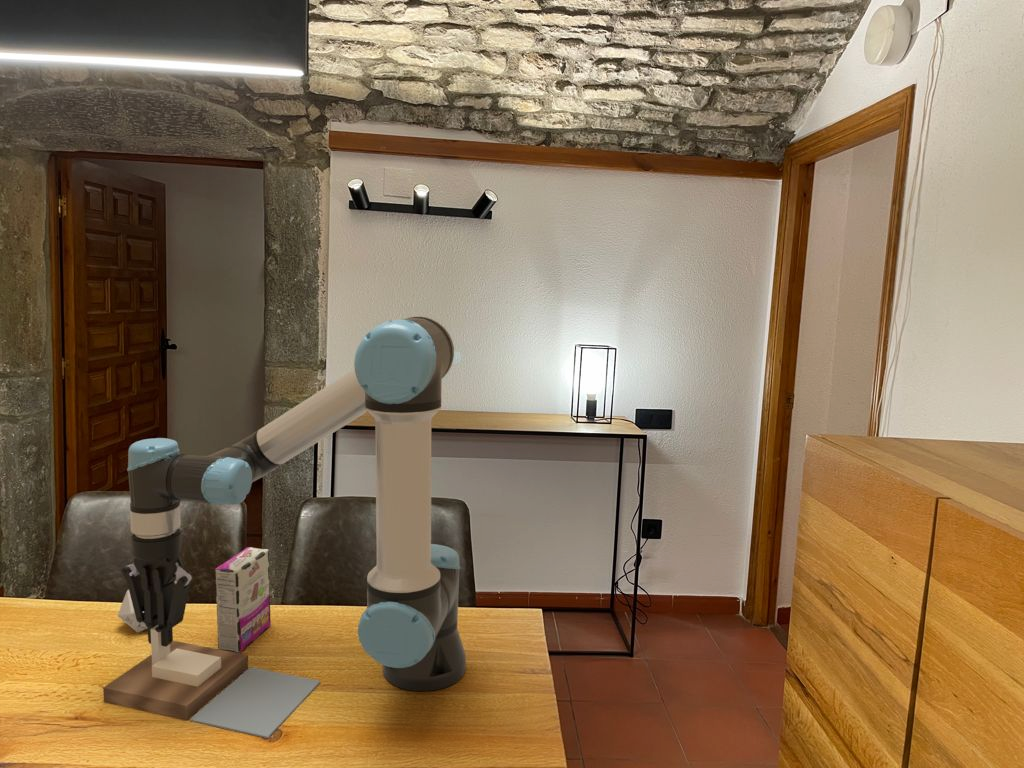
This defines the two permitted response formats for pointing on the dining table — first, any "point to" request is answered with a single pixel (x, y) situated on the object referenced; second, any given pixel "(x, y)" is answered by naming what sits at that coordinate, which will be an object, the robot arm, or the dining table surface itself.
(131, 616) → the die
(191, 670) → the cream rectangular tile
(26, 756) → the dining table surface
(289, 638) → the dining table surface
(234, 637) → the candy bar box
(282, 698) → the mat
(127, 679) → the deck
